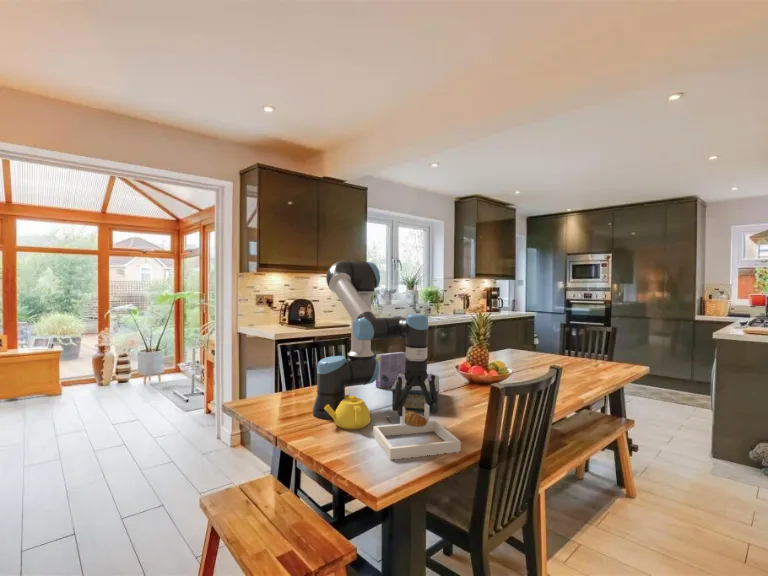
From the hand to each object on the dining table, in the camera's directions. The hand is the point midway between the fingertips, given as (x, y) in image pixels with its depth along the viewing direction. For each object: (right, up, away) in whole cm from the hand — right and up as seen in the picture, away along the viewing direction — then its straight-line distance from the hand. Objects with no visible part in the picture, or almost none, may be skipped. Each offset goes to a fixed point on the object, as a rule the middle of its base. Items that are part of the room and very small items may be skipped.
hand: (414, 424), depth 138 cm
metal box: (+5, -7, +50) cm, 50 cm away
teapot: (-25, -6, +17) cm, 31 cm away
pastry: (0, -1, +2) cm, 2 cm away
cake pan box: (-7, -6, +78) cm, 79 cm away
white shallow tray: (0, -7, 0) cm, 7 cm away
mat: (-2, -6, +21) cm, 22 cm away
